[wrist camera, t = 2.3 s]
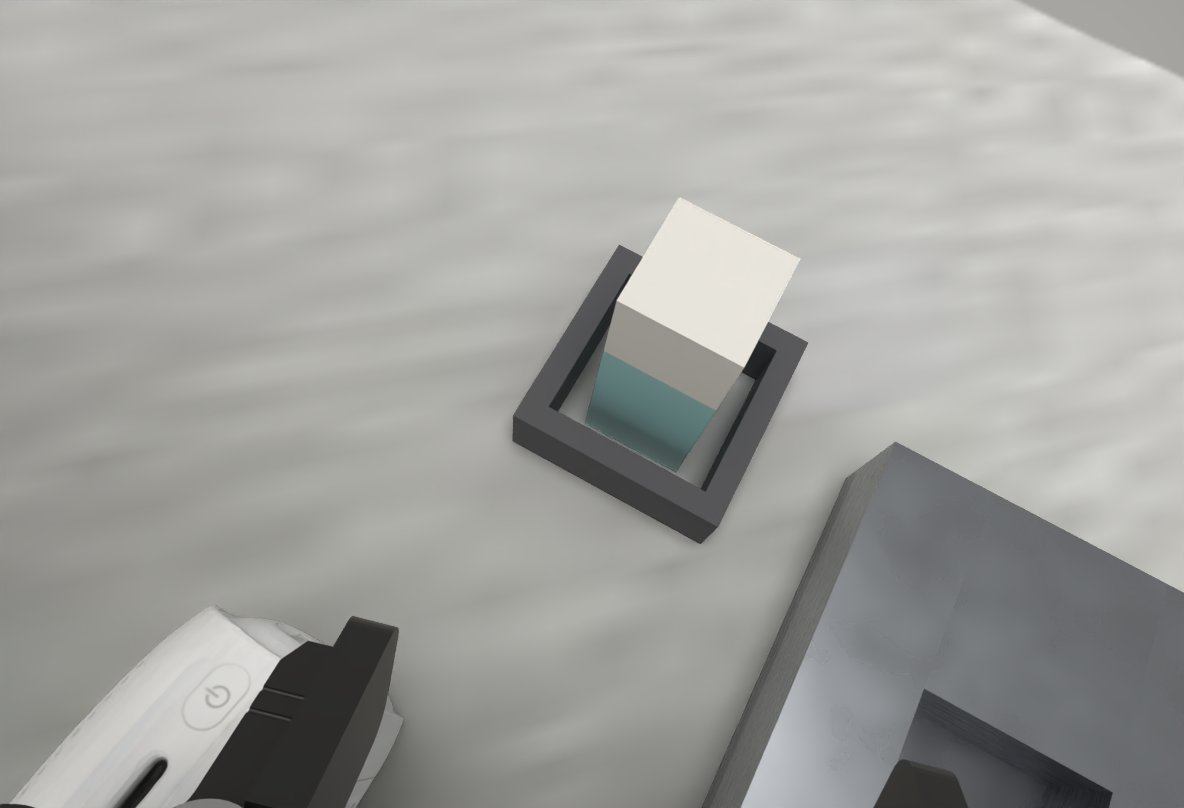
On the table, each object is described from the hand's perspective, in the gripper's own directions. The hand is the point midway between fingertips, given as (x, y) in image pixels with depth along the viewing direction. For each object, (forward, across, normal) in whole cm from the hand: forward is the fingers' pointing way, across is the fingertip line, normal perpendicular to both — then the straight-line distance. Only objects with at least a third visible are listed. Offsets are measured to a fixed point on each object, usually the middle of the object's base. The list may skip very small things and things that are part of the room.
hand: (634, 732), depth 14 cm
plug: (+17, 0, +2) cm, 17 cm away
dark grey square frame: (+17, 0, +2) cm, 17 cm away
